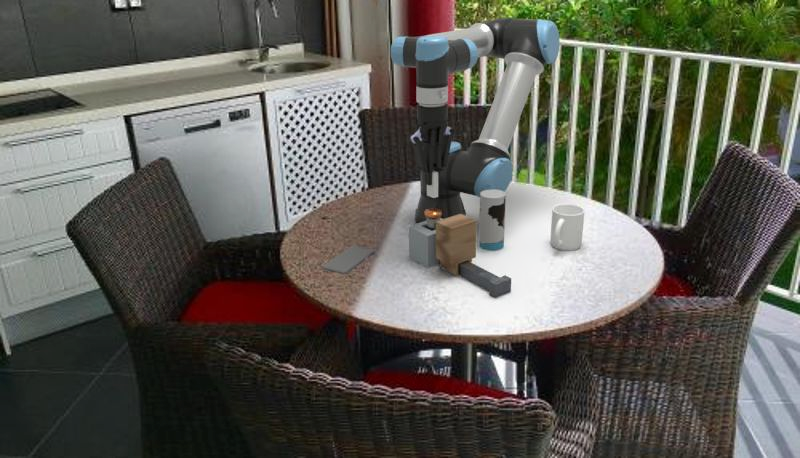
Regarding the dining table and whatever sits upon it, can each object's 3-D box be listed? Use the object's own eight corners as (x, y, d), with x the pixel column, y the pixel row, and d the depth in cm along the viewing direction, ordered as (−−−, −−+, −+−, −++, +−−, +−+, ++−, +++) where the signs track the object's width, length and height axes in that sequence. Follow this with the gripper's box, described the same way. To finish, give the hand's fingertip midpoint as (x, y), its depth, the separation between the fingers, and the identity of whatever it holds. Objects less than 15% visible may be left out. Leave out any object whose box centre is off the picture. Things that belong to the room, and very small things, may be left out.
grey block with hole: (409, 257, 179) (408, 226, 176) (438, 247, 185) (438, 216, 181) (428, 268, 173) (427, 235, 170) (457, 257, 179) (458, 225, 175)
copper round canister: (421, 235, 177) (421, 211, 174) (434, 231, 179) (434, 206, 177) (432, 241, 174) (431, 215, 171) (445, 236, 176) (445, 211, 173)
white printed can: (508, 248, 183) (510, 195, 177) (485, 252, 181) (487, 199, 175) (496, 238, 189) (498, 187, 183) (474, 242, 187) (475, 191, 181)
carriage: (436, 268, 172) (435, 221, 167) (460, 259, 176) (460, 213, 171) (451, 276, 168) (451, 228, 163) (475, 267, 172) (476, 220, 167)
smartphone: (320, 267, 175) (352, 244, 187) (320, 270, 175) (352, 247, 187) (345, 273, 171) (376, 249, 183) (345, 276, 172) (376, 252, 183)
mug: (569, 259, 176) (572, 222, 172) (539, 251, 181) (541, 215, 177) (586, 242, 185) (589, 207, 181) (557, 236, 190) (559, 201, 186)
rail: (435, 265, 175) (435, 253, 173) (450, 260, 177) (450, 247, 176) (495, 298, 158) (495, 284, 157) (510, 291, 161) (511, 278, 160)
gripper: (420, 110, 156) (421, 206, 166) (463, 102, 164) (461, 194, 173) (401, 104, 162) (402, 197, 171) (443, 97, 169) (442, 186, 178)
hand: (432, 196), depth 172 cm, fingers closed
